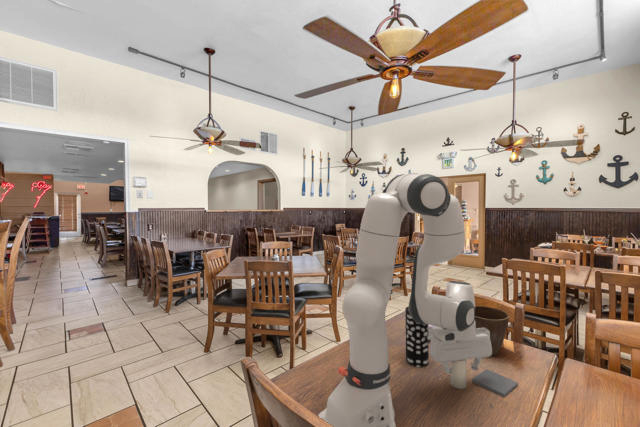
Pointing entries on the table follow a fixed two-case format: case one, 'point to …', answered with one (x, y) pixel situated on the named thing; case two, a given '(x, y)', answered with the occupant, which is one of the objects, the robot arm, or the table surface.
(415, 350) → the spotted tube
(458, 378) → the shaker
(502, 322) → the plant pot
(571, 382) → the table surface
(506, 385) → the plate
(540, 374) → the table surface
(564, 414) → the table surface
